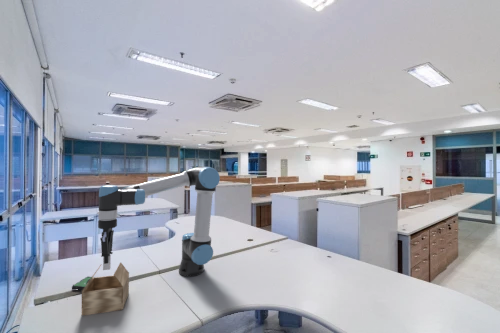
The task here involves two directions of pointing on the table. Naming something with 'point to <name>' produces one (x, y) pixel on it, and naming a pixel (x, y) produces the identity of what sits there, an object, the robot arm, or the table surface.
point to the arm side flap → (121, 274)
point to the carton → (104, 295)
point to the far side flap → (91, 278)
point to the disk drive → (81, 284)
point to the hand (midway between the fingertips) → (106, 269)
